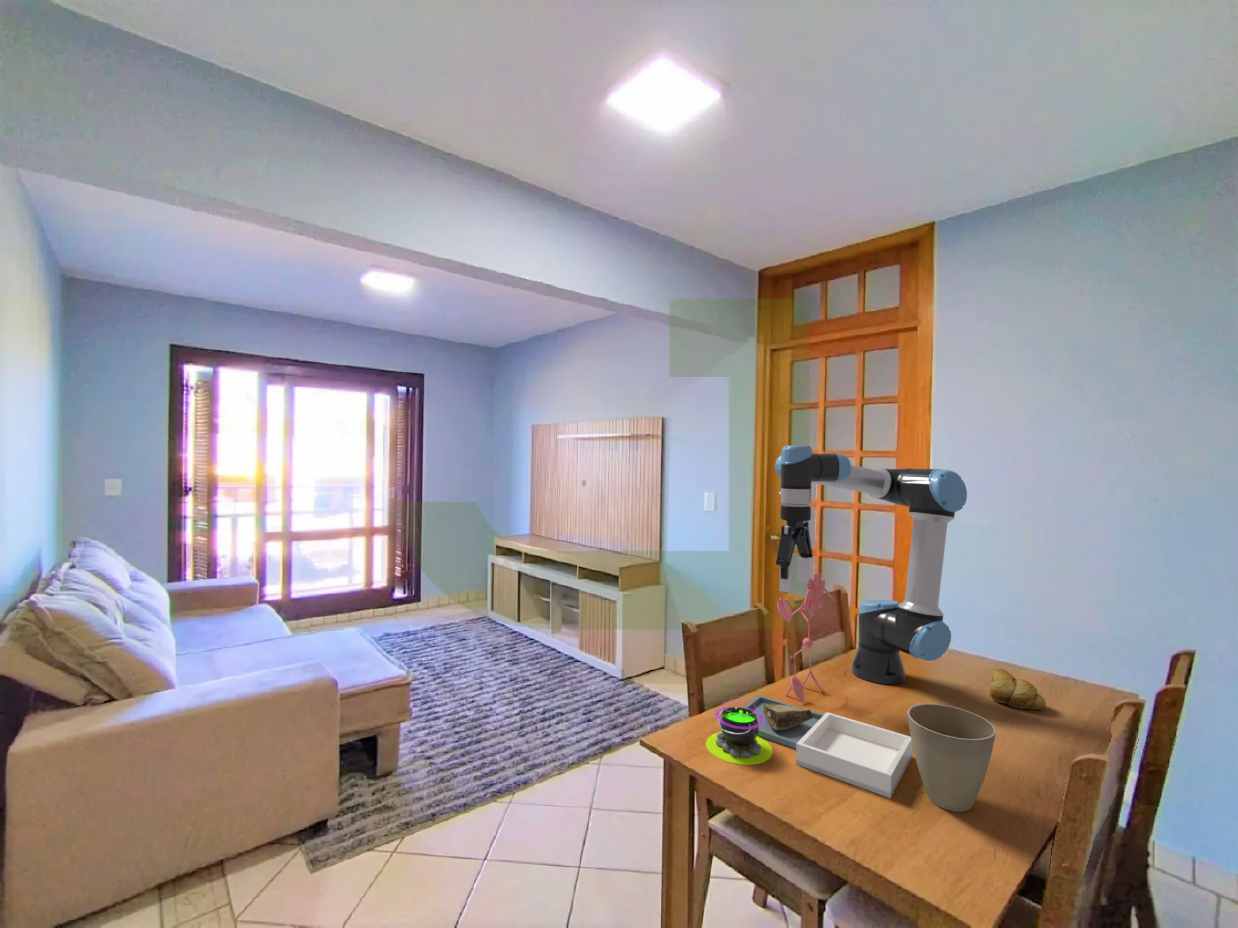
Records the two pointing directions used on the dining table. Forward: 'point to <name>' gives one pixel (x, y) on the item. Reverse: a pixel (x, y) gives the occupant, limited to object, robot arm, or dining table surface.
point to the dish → (855, 753)
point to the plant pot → (951, 753)
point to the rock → (785, 716)
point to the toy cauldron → (739, 737)
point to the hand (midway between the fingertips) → (794, 586)
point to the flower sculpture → (812, 604)
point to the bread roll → (1015, 691)
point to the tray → (780, 736)
